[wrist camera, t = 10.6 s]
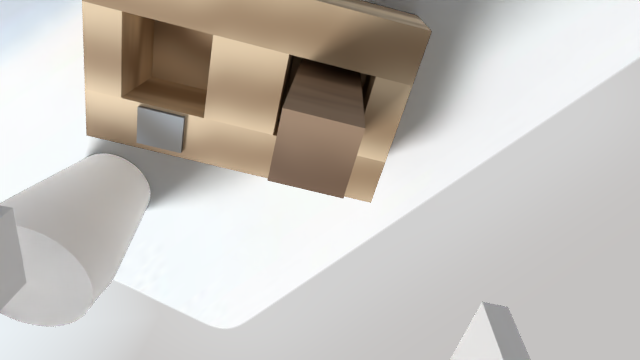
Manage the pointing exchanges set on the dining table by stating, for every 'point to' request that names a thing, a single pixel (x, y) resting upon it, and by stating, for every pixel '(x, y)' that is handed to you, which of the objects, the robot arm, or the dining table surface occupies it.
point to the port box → (241, 74)
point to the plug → (319, 129)
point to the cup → (74, 236)
